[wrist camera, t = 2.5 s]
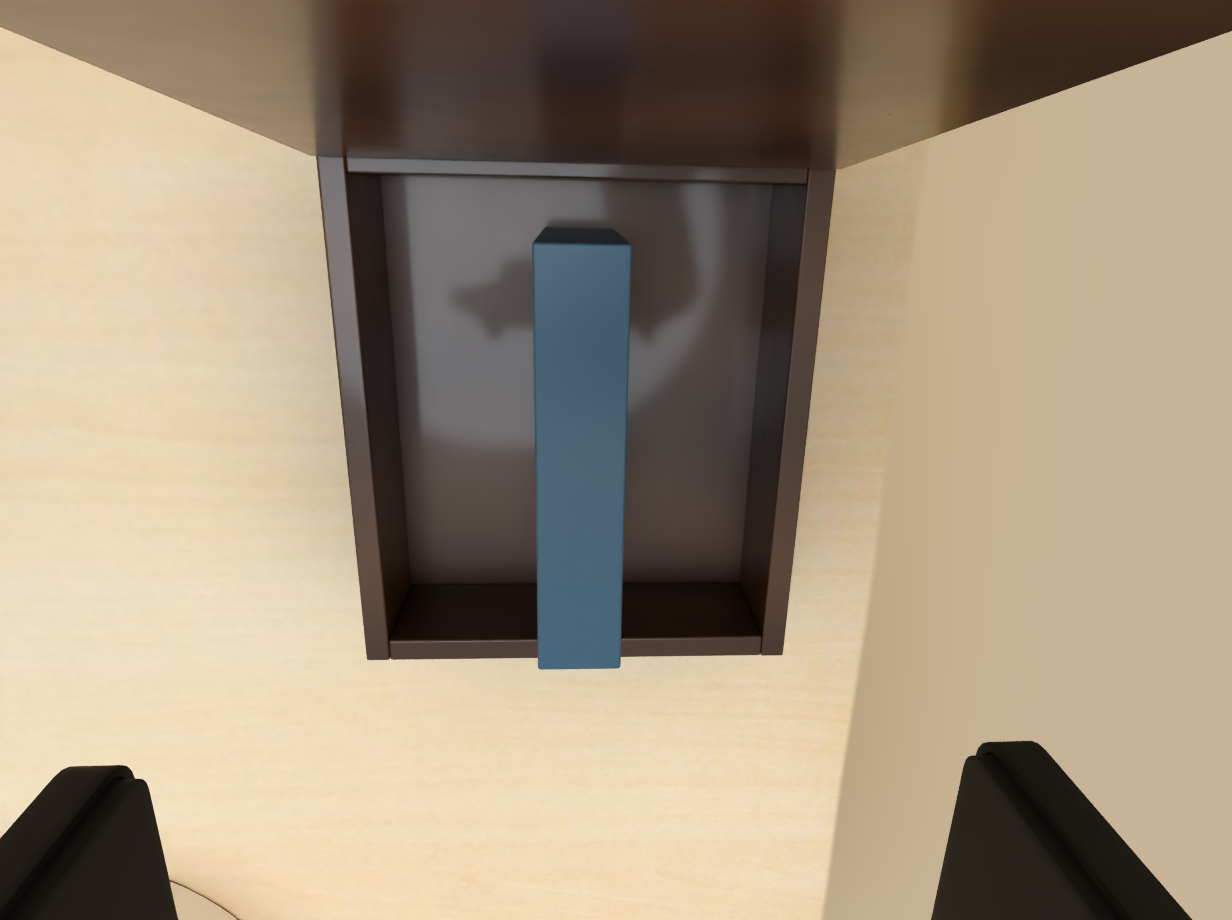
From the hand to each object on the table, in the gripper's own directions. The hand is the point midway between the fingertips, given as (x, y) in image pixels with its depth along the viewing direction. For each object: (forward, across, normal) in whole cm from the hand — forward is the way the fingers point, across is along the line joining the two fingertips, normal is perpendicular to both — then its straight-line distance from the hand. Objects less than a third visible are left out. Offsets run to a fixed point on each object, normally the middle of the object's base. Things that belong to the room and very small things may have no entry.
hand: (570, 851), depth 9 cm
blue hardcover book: (+20, 0, 0) cm, 20 cm away
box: (+21, 0, 0) cm, 21 cm away
